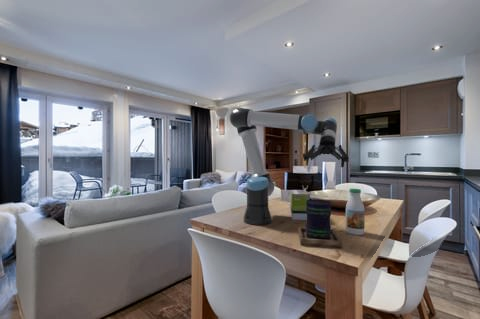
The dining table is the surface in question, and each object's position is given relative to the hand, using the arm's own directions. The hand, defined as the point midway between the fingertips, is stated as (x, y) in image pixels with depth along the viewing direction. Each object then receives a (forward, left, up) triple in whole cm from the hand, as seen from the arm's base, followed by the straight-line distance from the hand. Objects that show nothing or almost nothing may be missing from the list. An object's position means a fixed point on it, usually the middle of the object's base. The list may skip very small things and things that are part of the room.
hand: (323, 170), depth 103 cm
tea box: (-9, +27, -29) cm, 40 cm away
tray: (-4, -10, -28) cm, 30 cm away
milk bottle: (+14, +3, -29) cm, 32 cm away
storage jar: (-4, -10, -27) cm, 30 cm away
